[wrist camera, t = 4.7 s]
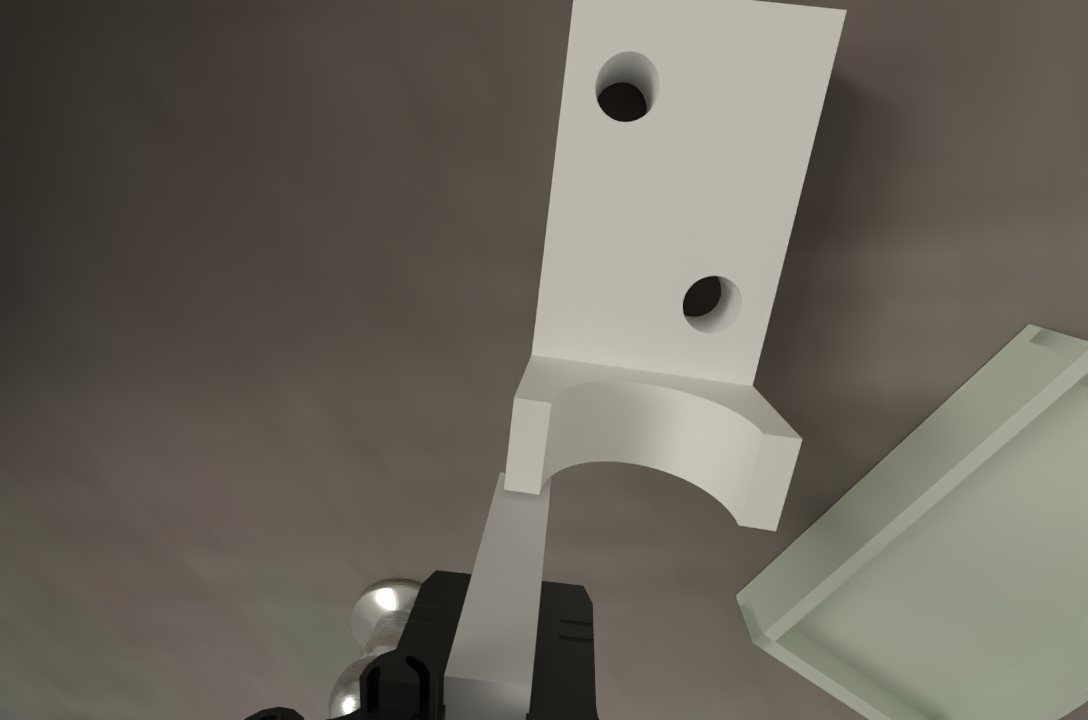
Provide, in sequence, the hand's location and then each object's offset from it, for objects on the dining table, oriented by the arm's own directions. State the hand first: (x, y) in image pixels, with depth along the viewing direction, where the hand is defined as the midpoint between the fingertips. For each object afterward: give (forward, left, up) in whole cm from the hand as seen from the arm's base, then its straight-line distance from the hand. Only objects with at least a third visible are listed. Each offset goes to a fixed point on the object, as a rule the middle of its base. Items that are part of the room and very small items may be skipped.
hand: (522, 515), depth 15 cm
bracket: (-1, +8, -7) cm, 11 cm away
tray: (+18, +6, -7) cm, 20 cm away
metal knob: (+1, -13, -7) cm, 15 cm away
